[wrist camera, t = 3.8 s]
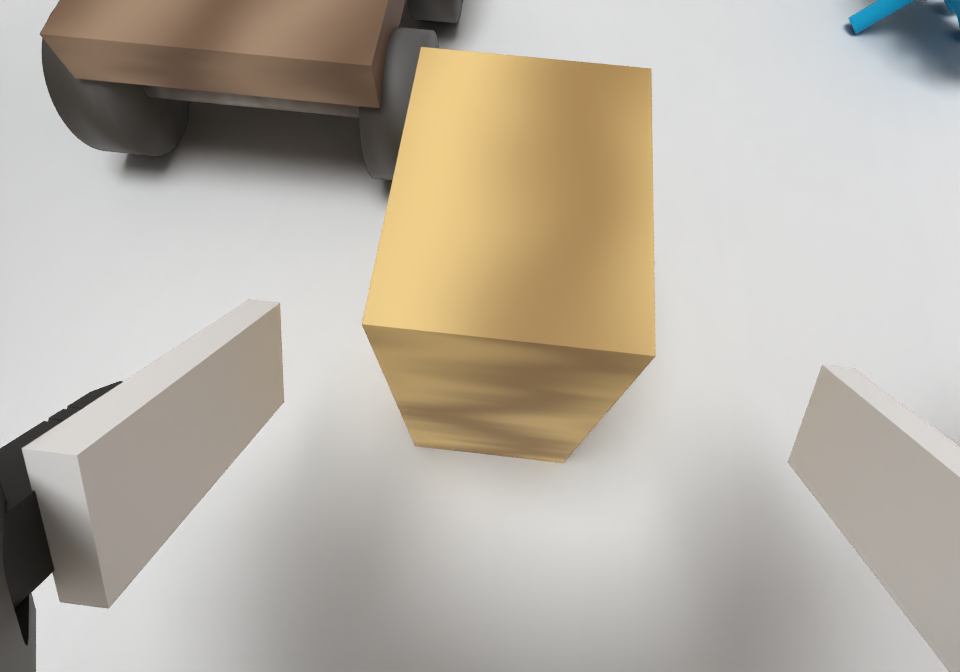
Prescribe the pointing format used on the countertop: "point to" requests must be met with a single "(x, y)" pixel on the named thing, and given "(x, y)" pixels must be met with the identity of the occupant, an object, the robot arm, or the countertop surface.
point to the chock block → (516, 252)
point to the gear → (889, 12)
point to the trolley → (234, 65)
